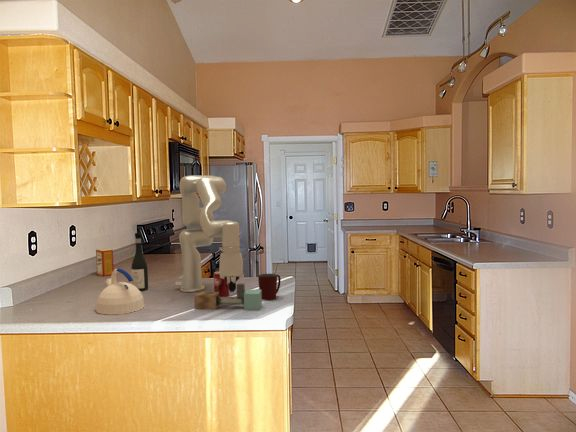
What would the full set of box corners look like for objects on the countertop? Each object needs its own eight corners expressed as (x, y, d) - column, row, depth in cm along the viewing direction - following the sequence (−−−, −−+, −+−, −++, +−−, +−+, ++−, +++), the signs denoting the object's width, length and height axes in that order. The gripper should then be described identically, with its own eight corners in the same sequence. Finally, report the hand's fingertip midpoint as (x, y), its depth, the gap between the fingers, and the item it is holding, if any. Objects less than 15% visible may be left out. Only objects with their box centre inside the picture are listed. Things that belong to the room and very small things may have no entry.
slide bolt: (204, 305, 198) (203, 284, 198) (206, 303, 202) (205, 283, 201) (254, 305, 196) (253, 284, 196) (255, 303, 200) (254, 283, 199)
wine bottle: (143, 291, 233) (140, 233, 231) (129, 291, 234) (126, 233, 232) (151, 288, 240) (148, 232, 238) (137, 287, 242) (135, 232, 240)
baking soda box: (97, 274, 281) (95, 249, 280) (107, 273, 286) (106, 248, 285) (103, 276, 275) (102, 250, 274) (113, 275, 279) (112, 249, 278)
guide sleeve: (194, 309, 197) (194, 295, 197) (198, 305, 204) (198, 291, 203) (216, 309, 196) (215, 295, 196) (219, 305, 203) (219, 291, 202)
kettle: (128, 300, 216) (126, 263, 214) (153, 307, 202) (152, 267, 201) (87, 310, 200) (85, 269, 199) (111, 318, 187) (109, 274, 186)
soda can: (217, 299, 214) (216, 274, 213) (212, 296, 220) (211, 271, 219) (231, 297, 217) (230, 272, 216) (226, 294, 224) (225, 270, 223)
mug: (274, 294, 222) (273, 271, 221) (286, 297, 216) (285, 274, 215) (254, 298, 214) (254, 275, 213) (266, 301, 208) (266, 278, 207)
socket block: (244, 309, 195) (243, 293, 194) (247, 305, 203) (246, 289, 202) (259, 309, 194) (258, 293, 194) (261, 305, 202) (261, 289, 202)
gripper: (212, 251, 194) (213, 293, 195) (246, 251, 193) (247, 293, 194) (216, 248, 202) (217, 289, 203) (249, 248, 200) (250, 289, 202)
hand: (232, 291), depth 199 cm, fingers closed
